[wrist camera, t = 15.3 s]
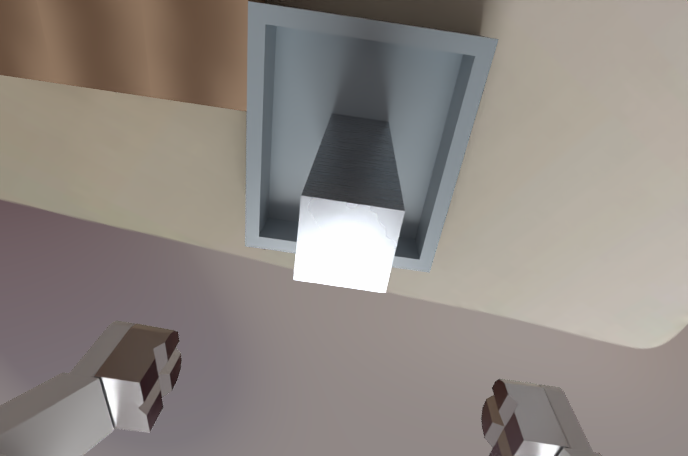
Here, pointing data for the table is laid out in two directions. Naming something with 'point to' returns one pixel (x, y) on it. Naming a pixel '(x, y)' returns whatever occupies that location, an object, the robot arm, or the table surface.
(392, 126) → the tray
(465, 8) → the table surface
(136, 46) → the block
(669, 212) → the table surface
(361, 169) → the pin
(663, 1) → the table surface
